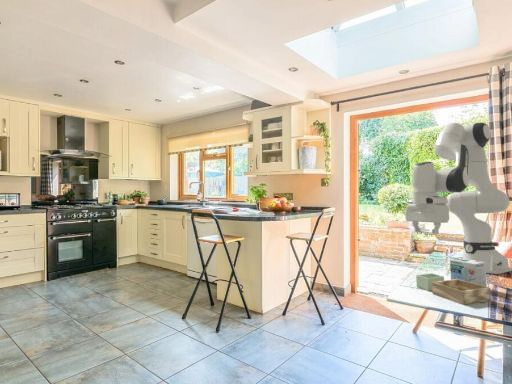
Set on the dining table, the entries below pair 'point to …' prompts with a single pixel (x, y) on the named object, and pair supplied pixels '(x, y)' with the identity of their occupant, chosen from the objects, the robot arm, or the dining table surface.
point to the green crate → (428, 281)
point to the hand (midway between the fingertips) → (426, 233)
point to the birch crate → (461, 291)
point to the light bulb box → (468, 271)
